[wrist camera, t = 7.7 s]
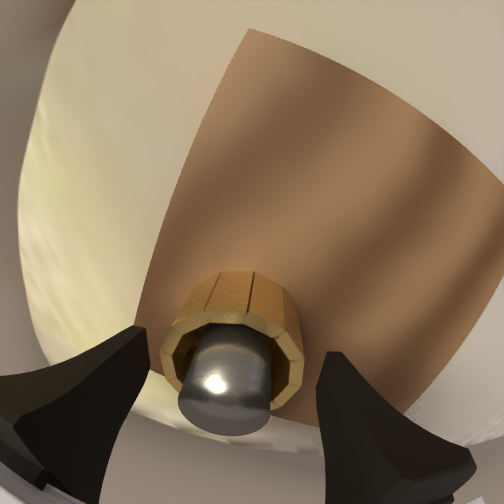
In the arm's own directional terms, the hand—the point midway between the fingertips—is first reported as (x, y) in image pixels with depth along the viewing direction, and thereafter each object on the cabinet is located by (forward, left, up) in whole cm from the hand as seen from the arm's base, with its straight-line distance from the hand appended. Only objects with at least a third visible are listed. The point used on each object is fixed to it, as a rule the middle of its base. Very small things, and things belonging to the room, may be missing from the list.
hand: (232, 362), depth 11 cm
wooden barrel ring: (0, 0, -3) cm, 3 cm away
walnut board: (-4, -4, -4) cm, 7 cm away
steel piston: (0, 0, -4) cm, 4 cm away
